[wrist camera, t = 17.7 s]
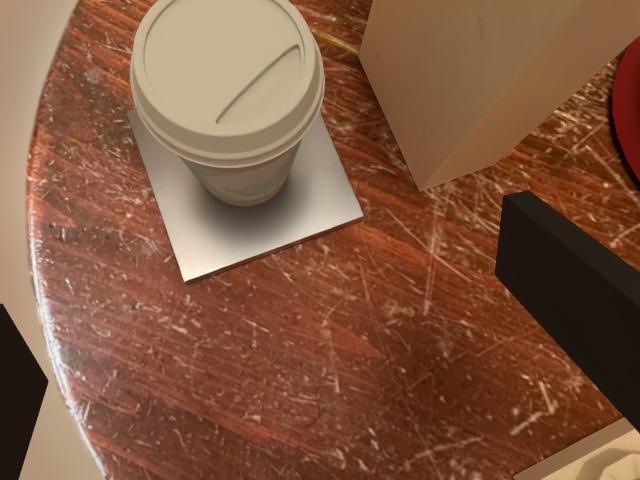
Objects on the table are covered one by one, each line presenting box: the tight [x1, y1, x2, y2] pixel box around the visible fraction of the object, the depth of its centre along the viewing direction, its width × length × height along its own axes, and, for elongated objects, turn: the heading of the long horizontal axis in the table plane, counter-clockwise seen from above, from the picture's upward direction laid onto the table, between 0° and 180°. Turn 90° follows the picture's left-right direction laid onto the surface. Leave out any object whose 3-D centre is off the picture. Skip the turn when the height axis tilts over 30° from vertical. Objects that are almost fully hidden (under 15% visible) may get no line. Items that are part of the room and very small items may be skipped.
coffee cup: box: [130, 0, 325, 207], centre depth 26 cm, size 9×8×12 cm
